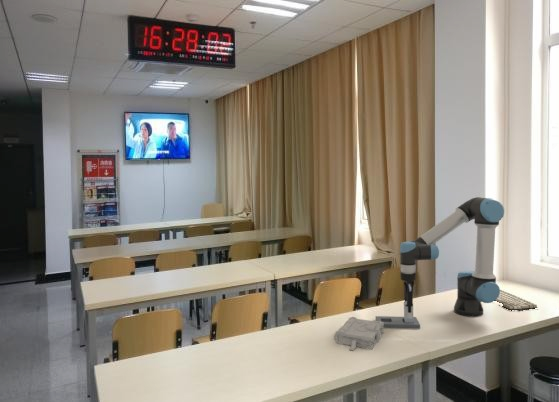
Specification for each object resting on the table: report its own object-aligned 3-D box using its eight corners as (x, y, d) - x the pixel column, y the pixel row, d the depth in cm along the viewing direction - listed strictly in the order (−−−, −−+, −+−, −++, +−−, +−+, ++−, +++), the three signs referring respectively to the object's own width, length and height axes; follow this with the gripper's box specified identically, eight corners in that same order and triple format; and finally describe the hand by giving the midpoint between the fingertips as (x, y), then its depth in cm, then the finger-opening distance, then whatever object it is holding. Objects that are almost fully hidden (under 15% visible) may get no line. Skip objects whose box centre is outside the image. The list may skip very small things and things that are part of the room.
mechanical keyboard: (472, 294, 288) (472, 289, 287) (499, 292, 290) (499, 287, 290) (511, 313, 250) (511, 307, 250) (541, 311, 253) (542, 305, 253)
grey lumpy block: (330, 348, 206) (330, 331, 206) (348, 328, 231) (348, 313, 231) (371, 355, 198) (371, 338, 197) (385, 334, 223) (386, 319, 222)
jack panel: (415, 321, 238) (415, 316, 237) (420, 329, 226) (420, 324, 226) (375, 320, 240) (375, 316, 240) (377, 328, 228) (377, 323, 228)
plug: (412, 320, 234) (411, 300, 233) (413, 323, 230) (413, 302, 229) (404, 320, 234) (403, 300, 234) (405, 322, 231) (405, 302, 230)
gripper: (398, 268, 239) (398, 311, 241) (403, 276, 222) (403, 322, 224) (412, 268, 238) (413, 311, 240) (418, 276, 221) (419, 322, 223)
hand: (408, 316), depth 232 cm, fingers closed on plug, 4 cm apart
